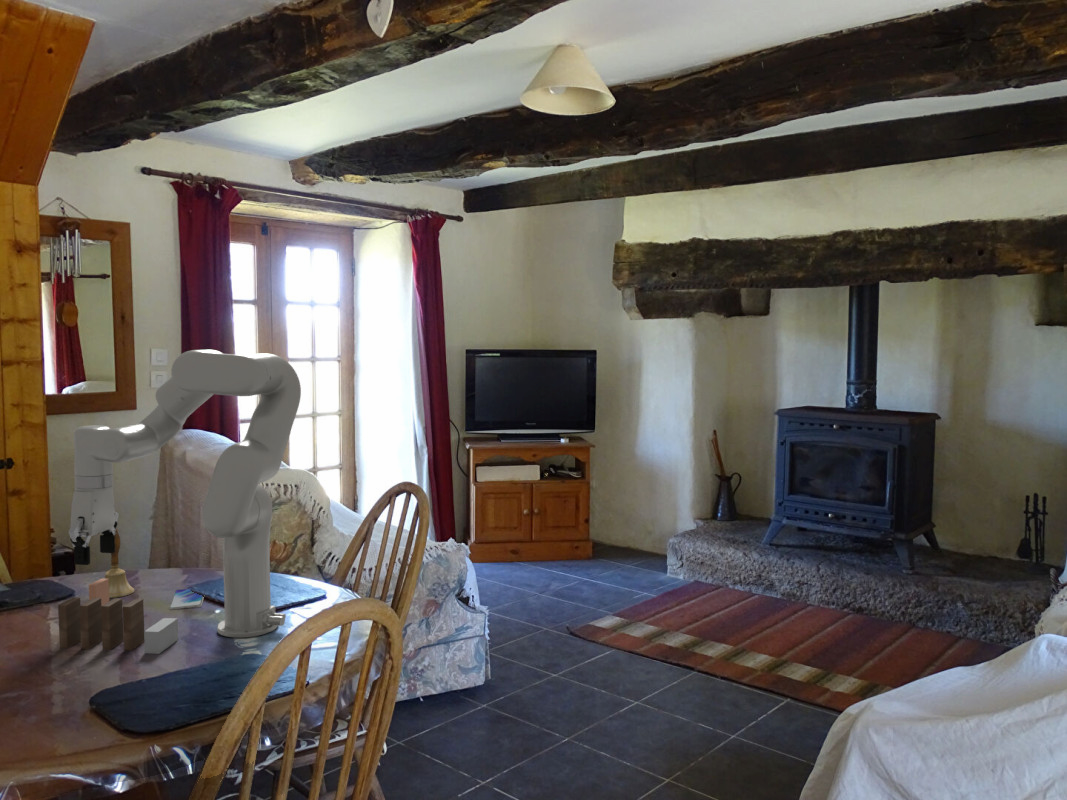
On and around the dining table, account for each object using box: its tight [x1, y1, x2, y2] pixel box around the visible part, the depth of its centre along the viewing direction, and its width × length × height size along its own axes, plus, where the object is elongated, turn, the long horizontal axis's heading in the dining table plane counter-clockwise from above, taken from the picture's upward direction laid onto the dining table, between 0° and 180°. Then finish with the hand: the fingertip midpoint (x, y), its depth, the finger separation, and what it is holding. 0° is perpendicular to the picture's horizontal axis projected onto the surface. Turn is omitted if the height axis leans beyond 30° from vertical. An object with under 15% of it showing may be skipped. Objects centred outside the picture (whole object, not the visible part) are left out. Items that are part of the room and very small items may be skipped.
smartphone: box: [168, 587, 205, 611], centre depth 206 cm, size 7×1×15 cm
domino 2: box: [88, 577, 110, 606], centre depth 189 cm, size 2×5×9 cm, turn 177°
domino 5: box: [122, 598, 145, 651], centre depth 175 cm, size 2×5×9 cm, turn 177°
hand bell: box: [104, 528, 135, 599], centre depth 209 cm, size 8×8×16 cm
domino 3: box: [80, 598, 102, 650], centre depth 175 cm, size 2×5×9 cm, turn 177°
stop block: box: [143, 617, 179, 655], centre depth 174 cm, size 3×8×4 cm, turn 177°
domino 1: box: [57, 597, 81, 650], centre depth 175 cm, size 2×5×9 cm, turn 177°
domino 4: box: [101, 597, 124, 651], centre depth 175 cm, size 2×5×9 cm, turn 177°
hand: (95, 558), depth 188 cm, fingers open, 9 cm apart
